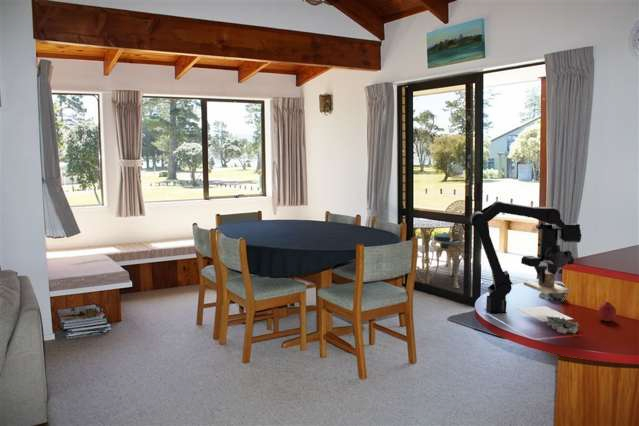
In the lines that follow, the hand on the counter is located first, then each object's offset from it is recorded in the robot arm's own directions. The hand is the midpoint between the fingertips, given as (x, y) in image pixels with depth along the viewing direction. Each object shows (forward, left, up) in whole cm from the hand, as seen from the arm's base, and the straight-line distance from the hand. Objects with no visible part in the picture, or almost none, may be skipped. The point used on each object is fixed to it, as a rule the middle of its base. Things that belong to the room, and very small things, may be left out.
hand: (546, 283), depth 204 cm
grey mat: (0, 0, -12) cm, 12 cm away
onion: (+17, -12, -13) cm, 24 cm away
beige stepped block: (0, 0, -2) cm, 2 cm away
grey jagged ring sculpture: (-4, -15, -13) cm, 20 cm away
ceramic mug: (+17, +18, -13) cm, 28 cm away
